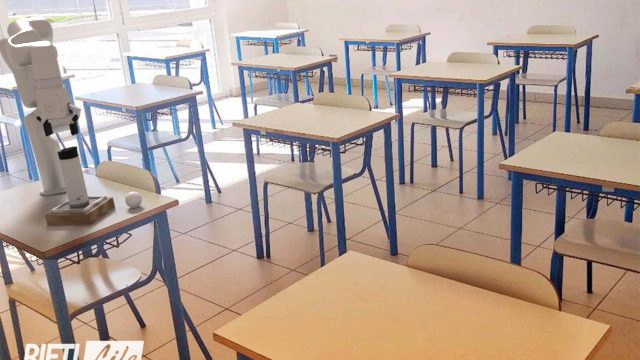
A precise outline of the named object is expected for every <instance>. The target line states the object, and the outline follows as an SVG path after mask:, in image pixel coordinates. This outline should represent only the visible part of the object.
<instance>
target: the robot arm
mask: <svg viewBox="0 0 640 360" xmlns="http://www.w3.org/2000/svg"><path fill="white" fill-rule="evenodd" d="M6 29H7V30H6V32H7V36H5V37H3V38H0V55H1V57H2V59H3V61H4V63H5V64H6V66H7V67H8V68H9V70H10V72H11V73H12V75H13V78H14V81H15V84H16V87H17V91H18V93H19V94H18V95H19V98H20V100H21V103H22V105H23V106H24V108H26V109H33V111H32V112H29V113H28V114H26V115H25V116H24V117H23V124H24V128H25V130H26V133H27V135H28V137H29V141H30V143H31V146H32V150H33V154H34V157H35V161H36V165H37V169H38V173H39V177H40V180H41V185H42V187H41V188H40V190H39V193H40V195H42V196H54V195H59V194H63V193H67V191H66V187H65V183H64V179H63V174H62V170H61V166H60V162H59V156H58V151H61V150H62V149H61V145H60V143H59V142H58V141H57V140H56V139H54V138H53V137H51V136H52V135H54V134H57V133H64V132H66V131H67V132H68V131H70V136H75V135H78V134H79V132H80V131H79V127H78V121H79V119H80V117H81V112H82V109H81V108H80V107H78V106H76V105H74V104H73V103H72V100H71V97H70V95H69V92H68V90H67V87H66V85H64V82H63V78H62V74H61V69H60V65H59V61H58V57H59V55H58V50H57V49H58V48H57V46H56V45H55V44H54V43H53V39H54V31H53V26H52V25H51V22H49V20H48V19H47V18H45V17H43V16H36V17H28V18H20V19H15V20H13V21H12V22H10V23H9V24H8V26H7V28H6Z"/></svg>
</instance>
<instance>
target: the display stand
mask: <svg viewBox="0 0 640 360" xmlns="http://www.w3.org/2000/svg"><path fill="white" fill-rule="evenodd" d="M88 199H89V203H88V204H86V205H84V206H81V207H71V206H70V204H69V200H68V199H67V200H65V201H64V202H62V203H60V204H59V205H57V206H55V207H53V208H52V209H51V210H50V211H48V212H46V213H45V214H44V218H45V222H46V226H47V227H90V226H91V225H93V224H94V223H96V222H97V221H99V220H100V219H101V218H103V217H104V216H106V215H107V214H108V213H110V212H111V211H113V210H114V209H115V208H116V204H115V200H114V197H113V196H107V195H88Z"/></svg>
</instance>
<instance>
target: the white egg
mask: <svg viewBox="0 0 640 360" xmlns="http://www.w3.org/2000/svg"><path fill="white" fill-rule="evenodd" d="M142 201H143V197H142V195H141V194H140V193H139V192H137V191H130V192H129V193H127V194H126V195H125V198H124V202H125V204H126V206H128V208H131V209H135V208H138V207H139V206H140V205H141V204H142Z"/></svg>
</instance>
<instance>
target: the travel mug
mask: <svg viewBox="0 0 640 360" xmlns="http://www.w3.org/2000/svg"><path fill="white" fill-rule="evenodd" d="M58 156H59V162H60V166H61V170H62V174H63V179H64V183H65V187H66V191H67V192H66V195H67V198H68V199H67V200H69V204H70V206H71V207H81V206H84V205H86V204H88V203H89V199H88V196H89V194H88V190H87V187H86V186H87V185H86V180H85V177H84V173H83V169H82V164H81V160H80V159H81V158H80V155H79V153H78V146H74V145H73V146H69V147H66V148H62V149H61V151H58Z"/></svg>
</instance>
